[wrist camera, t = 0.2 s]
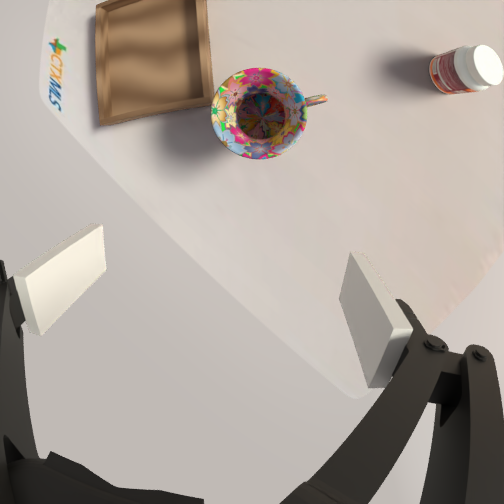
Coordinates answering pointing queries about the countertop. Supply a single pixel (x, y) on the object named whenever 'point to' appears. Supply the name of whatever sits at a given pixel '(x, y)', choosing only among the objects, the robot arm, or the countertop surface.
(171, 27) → the tray
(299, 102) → the mug
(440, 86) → the pill bottle
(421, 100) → the countertop surface
